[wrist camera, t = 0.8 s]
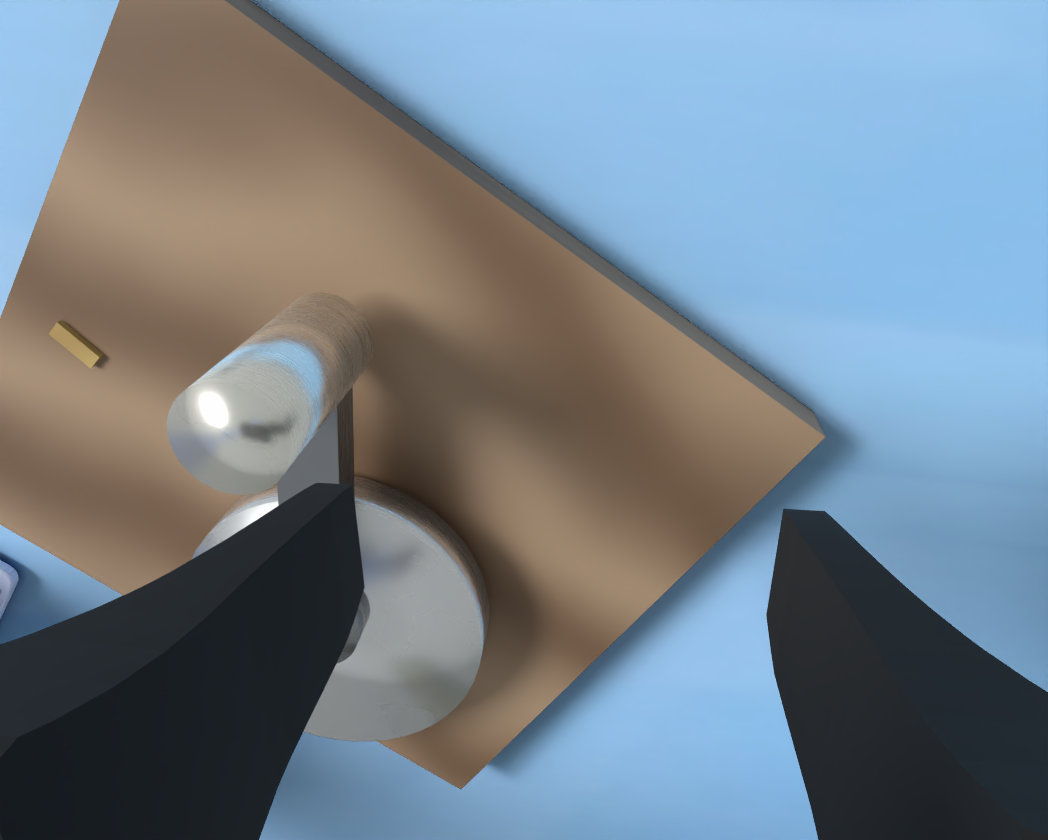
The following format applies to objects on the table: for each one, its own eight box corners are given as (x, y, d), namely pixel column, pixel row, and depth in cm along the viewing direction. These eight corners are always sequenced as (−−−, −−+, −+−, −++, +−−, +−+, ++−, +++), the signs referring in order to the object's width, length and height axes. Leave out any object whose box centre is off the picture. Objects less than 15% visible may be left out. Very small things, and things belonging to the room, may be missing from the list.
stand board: (468, 755, 30) (459, 794, 28) (-29, 464, 27) (-69, 491, 25) (813, 412, 22) (826, 440, 21) (176, -54, 19) (137, -62, 17)
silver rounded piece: (481, 724, 27) (439, 917, 21) (220, 684, 27) (110, 861, 21) (514, 301, 20) (466, 412, 14) (169, 261, 21) (-12, 353, 15)
